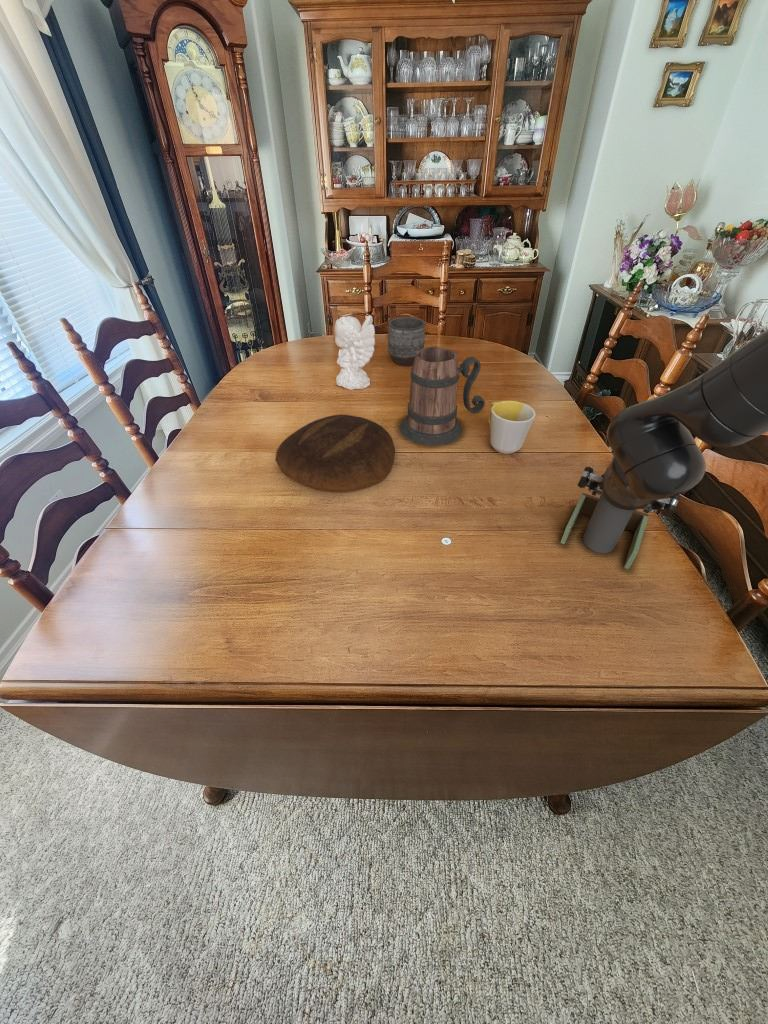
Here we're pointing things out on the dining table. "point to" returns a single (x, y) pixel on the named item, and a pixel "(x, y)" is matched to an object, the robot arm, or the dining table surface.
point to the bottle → (605, 526)
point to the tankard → (438, 396)
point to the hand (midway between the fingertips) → (621, 498)
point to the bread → (337, 454)
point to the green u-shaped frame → (634, 524)
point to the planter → (405, 339)
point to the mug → (509, 425)
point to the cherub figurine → (354, 351)
